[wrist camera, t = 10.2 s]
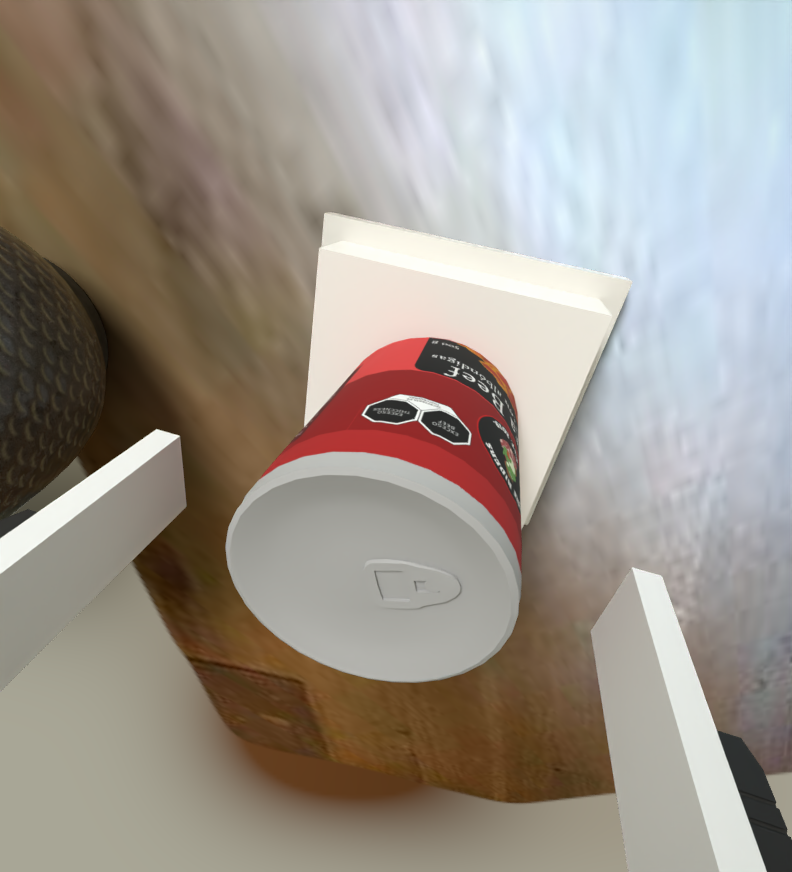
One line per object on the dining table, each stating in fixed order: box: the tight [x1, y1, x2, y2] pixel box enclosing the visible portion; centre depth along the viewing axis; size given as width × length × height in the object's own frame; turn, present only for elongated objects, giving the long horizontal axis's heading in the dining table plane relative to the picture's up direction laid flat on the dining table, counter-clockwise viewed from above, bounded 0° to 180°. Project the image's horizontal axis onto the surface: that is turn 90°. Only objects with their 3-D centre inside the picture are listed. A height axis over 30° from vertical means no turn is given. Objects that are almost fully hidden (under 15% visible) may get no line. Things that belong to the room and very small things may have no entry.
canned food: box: [226, 337, 522, 683], centre depth 16 cm, size 8×8×11 cm
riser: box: [304, 212, 632, 530], centre depth 23 cm, size 14×14×4 cm
